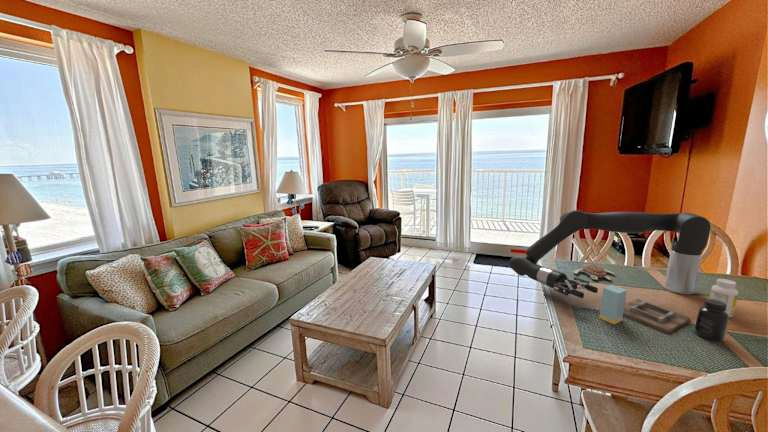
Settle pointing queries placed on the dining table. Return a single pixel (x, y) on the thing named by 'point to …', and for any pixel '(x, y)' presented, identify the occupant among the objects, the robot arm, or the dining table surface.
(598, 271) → the decorative turtle
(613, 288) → the peg
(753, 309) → the dining table surface
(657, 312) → the socket board
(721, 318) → the supplement bottle
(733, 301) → the supplement bottle
